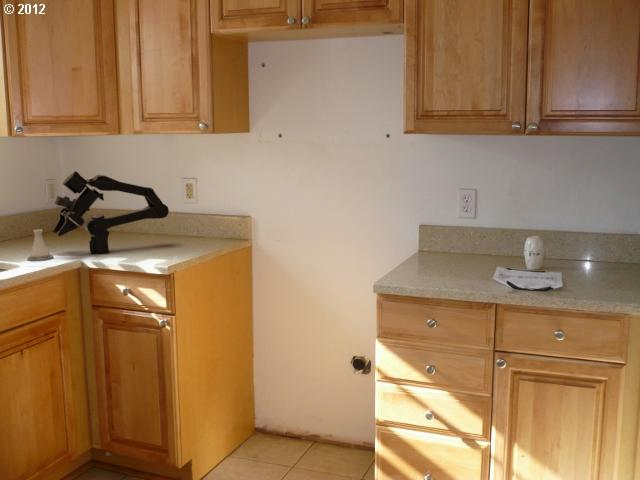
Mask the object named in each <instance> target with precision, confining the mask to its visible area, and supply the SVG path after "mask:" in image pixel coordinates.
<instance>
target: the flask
mask: <svg viewBox="0 0 640 480" xmlns="http://www.w3.org/2000/svg"><path fill="white" fill-rule="evenodd" d="M43 231H44V230H43V229H33V233H34V240H33V245H32V247H31V250H30V255H29V256H30V258H43V257H48V256H50V255H51V254H50V252H49V250H48V247H47V245H46V243H45V241H44V238H43V237H44V236H43Z"/></svg>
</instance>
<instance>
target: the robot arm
mask: <svg viewBox="0 0 640 480" xmlns="http://www.w3.org/2000/svg"><path fill="white" fill-rule="evenodd" d="M62 185H63V186H64V187H65V188H67V189H68V191H71V193H73V194H74V195H76V194H79V196H77V198H73V199H72V200H71V198H70V197H68V196H67V195H66V196H59V195H57V196H56V198H55V201H54V204H55V205H56V206H60V209H58V217H59V219H58V221H57V222H56V224H55V226H54V229H53V230H52V232H53V233H54V234H56V233H57V236H59V237H62V236H63V235H64V236H65V235H66V234H67V233H70V232H71V231H74V230H76V229H78V228H80V227H83V228H84V229H85V231H87V232H89V235H90V240H89V252H90V254H91V255H96V254H98V255H99V254H109V253H110V246H109V235H110V231H109V230H110V229H111V228H113V227H116V226H121V225H126V224H130V223H134V222H138V221H142V220H146V219H147V220H148V219H150V220H155V219H165V218H166V217H167V216H168V215H169V211H170V209H169V207H168V206H167V205H166V204H165V203H163V202H162V200H161V199H160V198H159V196H158V194H157V193H156V192H155V190H154V189H153V187H149V186H141V185H136V184H131V183H127V182H122V181H119V180H116V179H114V178H111V177H109V176H106V175H103V174H97V175H94V176H93V178H89V179H85V178H84V177H83V176H82V175H81V174H80V173H79V172H78V171H77V170H74V171H73V172H72V173H71V174H70V175H69V176H67V177H66V178H65V179H64V180H63V182H62ZM90 187H94V188H92V189H91V188H90ZM98 190H99V191H103V192H99V191H98ZM104 191H106V192H122V193H127V194H131V195H136V196H140V197H144V200H145V201H146V203H147V206H145V207H144V208H140V209H136V210H133V211H132V210H131V211H127V212H124V213H119V214H114V215H111V216H105V214H102V213H98V214H96V215H89V217H88V218H86V219H84V218H83V216H84V215H85V214H86V213H87V212H89V211H90V210H91V209H90V208H91V207H92V206H93V205H94V203H95V202H96V201H97V200H98V199H99V200H100V201H104V200H105V199H104Z"/></svg>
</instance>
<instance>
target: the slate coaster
mask: <svg viewBox="0 0 640 480" xmlns="http://www.w3.org/2000/svg"><path fill="white" fill-rule="evenodd" d="M26 259H27V261H29V262H44V261H50V260H53V259H54V255H53V254H50V256H48V257H43V258H30V255H29V256H27V258H26Z"/></svg>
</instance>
